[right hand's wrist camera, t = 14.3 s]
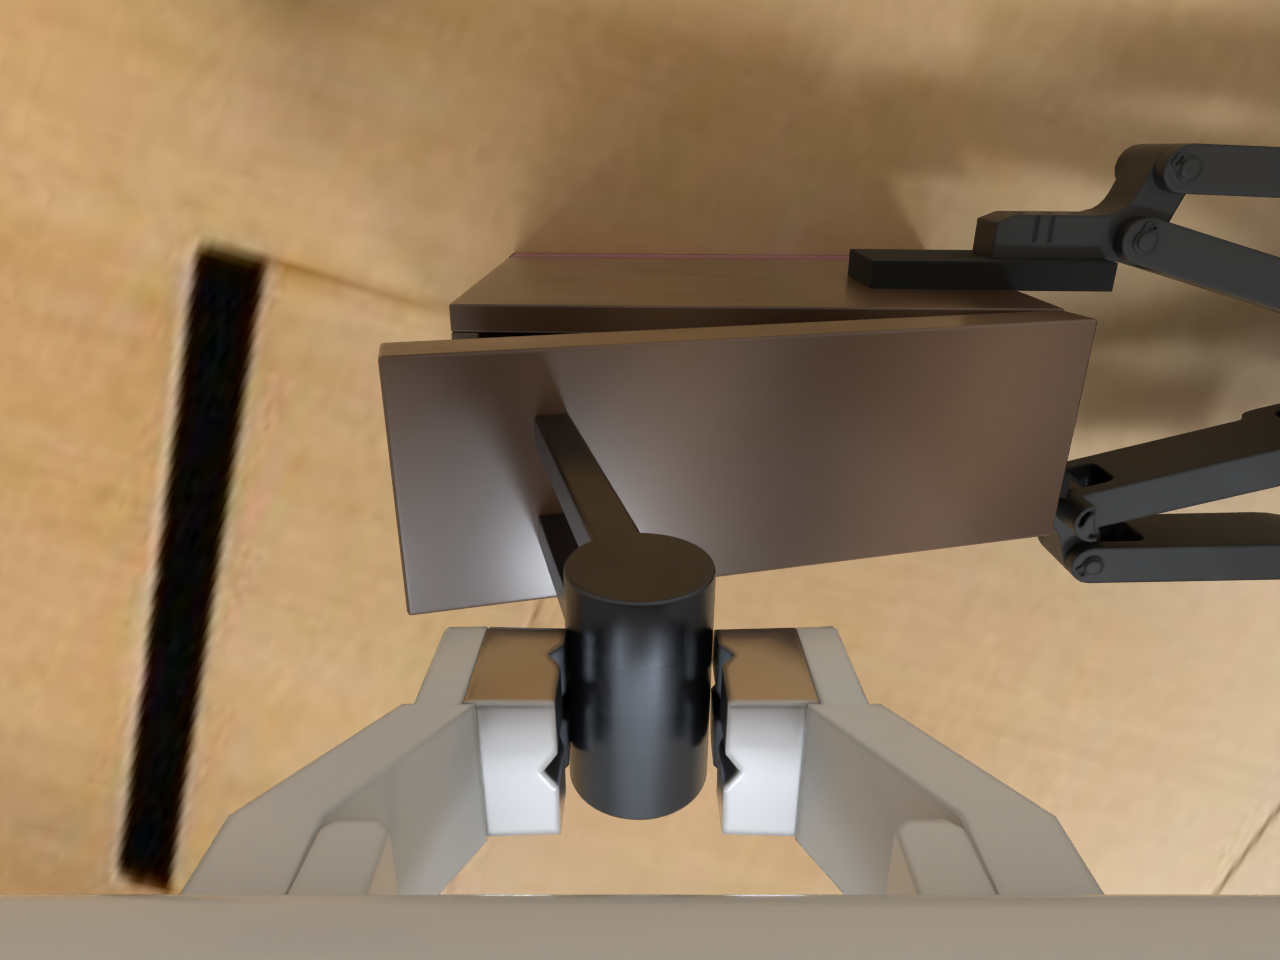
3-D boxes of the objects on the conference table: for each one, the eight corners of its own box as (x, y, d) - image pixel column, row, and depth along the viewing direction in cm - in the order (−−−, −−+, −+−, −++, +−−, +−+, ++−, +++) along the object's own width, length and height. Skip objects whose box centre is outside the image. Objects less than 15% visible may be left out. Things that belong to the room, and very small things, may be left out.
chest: (520, 399, 31) (465, 510, 22) (513, 253, 29) (447, 303, 20) (909, 403, 31) (1025, 515, 21) (929, 255, 29) (1065, 308, 19)
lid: (407, 587, 18) (408, 940, 10) (379, 342, 16) (353, 539, 8) (1019, 516, 21) (1376, 731, 14) (1060, 309, 19) (1507, 420, 12)
